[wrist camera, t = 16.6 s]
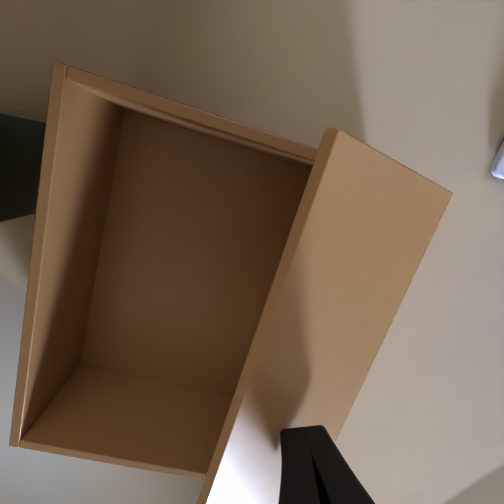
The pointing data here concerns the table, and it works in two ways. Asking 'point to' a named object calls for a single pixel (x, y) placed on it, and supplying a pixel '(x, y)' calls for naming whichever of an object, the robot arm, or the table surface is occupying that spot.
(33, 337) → the carton
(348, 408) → the flap
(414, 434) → the table surface
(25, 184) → the block
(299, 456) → the robot arm
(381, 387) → the table surface
